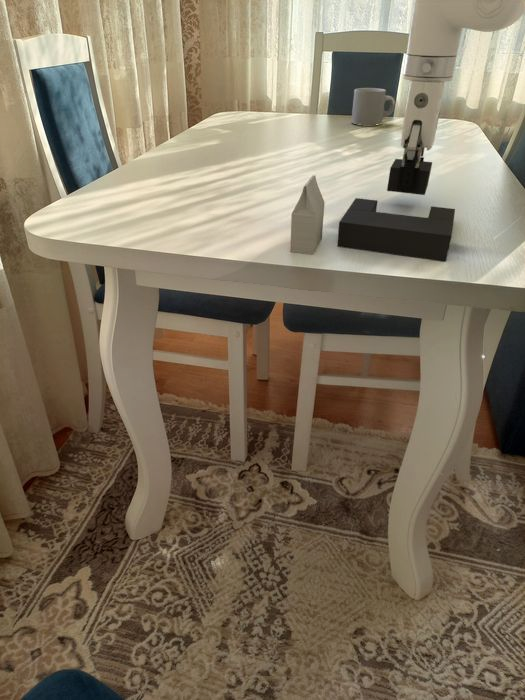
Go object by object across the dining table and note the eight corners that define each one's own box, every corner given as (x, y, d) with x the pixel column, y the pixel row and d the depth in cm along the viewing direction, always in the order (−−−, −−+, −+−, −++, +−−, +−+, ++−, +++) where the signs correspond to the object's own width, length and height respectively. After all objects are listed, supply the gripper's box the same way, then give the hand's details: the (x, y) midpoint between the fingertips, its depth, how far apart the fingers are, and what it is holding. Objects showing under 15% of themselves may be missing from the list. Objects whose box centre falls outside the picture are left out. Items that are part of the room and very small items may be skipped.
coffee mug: (350, 125, 160) (353, 91, 154) (351, 120, 168) (355, 87, 162) (392, 127, 158) (397, 92, 152) (391, 121, 166) (396, 88, 160)
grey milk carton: (321, 238, 80) (326, 175, 74) (313, 254, 75) (318, 188, 69) (299, 236, 81) (302, 173, 75) (290, 251, 76) (292, 185, 70)
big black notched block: (449, 232, 82) (455, 208, 80) (445, 261, 73) (451, 235, 70) (353, 220, 87) (355, 197, 85) (337, 246, 77) (339, 221, 75)
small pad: (427, 185, 89) (432, 162, 86) (424, 195, 84) (429, 171, 81) (392, 181, 90) (395, 158, 88) (386, 191, 85) (390, 167, 83)
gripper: (451, 75, 69) (426, 202, 79) (456, 65, 82) (434, 174, 92) (397, 72, 71) (379, 196, 81) (410, 63, 84) (393, 170, 94)
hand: (408, 184), depth 87 cm, fingers closed on small pad, 6 cm apart
